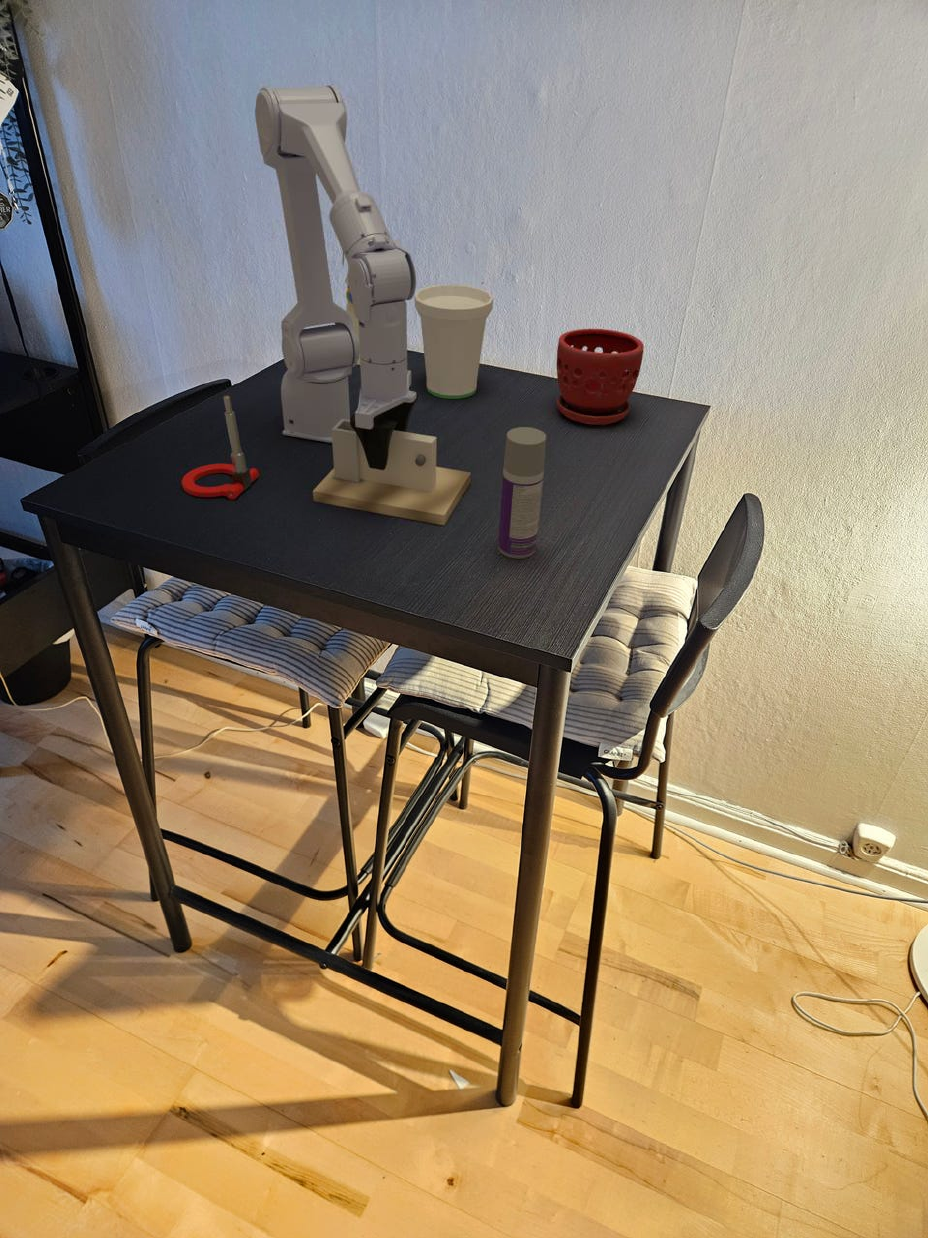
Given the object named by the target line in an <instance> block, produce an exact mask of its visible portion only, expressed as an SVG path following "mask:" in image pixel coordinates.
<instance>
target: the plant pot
mask: <svg viewBox="0 0 928 1238" xmlns="http://www.w3.org/2000/svg"><path fill="white" fill-rule="evenodd" d="M557 342H558V343H557V349H556V351H557V352H556V378H557V383H558V388H559V391H560V395H559V397H557V400H556V405H557V408H558V409H559V411H560V413H561V414H563V416H564V417H566V418H568V419H570V420H572V421H575V422H578V423H581V424H587V425H601V426H606V425H609V424H612V423H613V424H614V423H616V422H619V421H621V420H622V419H624V418H625V417H626V416H627V415H628V414H629V412H630V409H631V405H630V403H629V401H628V399H629V398H630V396H631V395H632V393H633V392H634V389H635V387H636V385H637V381H638V378H639V375H640V372H641V367H642V362H643V357H644V348H645V347H644V343H643V342H642V340H640V339H639V338H638V337H636V336H634V335H632V334H630V333H626V332H622V331H619V330H614V329H613V330H612V329H604V328H603V329H602V328H581V329H573V330H570V331H567V332H564V333H562V334H561V335H560V336H559V337H558V341H557ZM585 347H586V349H585V350H583V349H584V348H585ZM597 348H600V349H601V350H602V352H596V349H597Z"/></svg>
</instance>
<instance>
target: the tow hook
mask: <svg viewBox="0 0 928 1238" xmlns="http://www.w3.org/2000/svg"><path fill="white" fill-rule="evenodd" d="M223 403H224V408H225V412H224V416H225V422H226V427H227V432H228V438H229V443H230V447H231V454H230V458H231V463H232V464H230V463H212V464H207V465H202V466H199V467H196V468H194V469H192V470H190V471H189V472H187V473H186V474H185V475H184V476H183V477H182V479H181V486H182V489H183V490H184V492H185V493H186V494H189V495H191V496H194V497H201V498H215V497H222V496H224V497H227V499H229V500H231V501H232V500H235V499H237V498H238V496H239V495H241V493H244V492H245V491H246V490H247V489H248V488H249V487H250V486H251V485H252V483H253V482H255V480H257V478H259V477H260V472H259V471H258V469H256V468H248V467H247V463H246V458H245V453H244V452H243V451H242V447H241V441H240V437H239V430H238V426H237V420H236V414H235V411H233V406H232V401H231V396H230V395H224V396H223ZM212 474H227V475H231V477H232V478H231V479H232V484H230V483H225V484H222V485H219V486H201V485H198V484H196V482H197V480H198V479H200V478H202V477H205V476H207V475H212Z"/></svg>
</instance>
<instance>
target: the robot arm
mask: <svg viewBox="0 0 928 1238" xmlns="http://www.w3.org/2000/svg"><path fill="white" fill-rule="evenodd" d="M254 108H255V109H254V117H255V123H256V130H257V135H258V143H259V148H260V149H259V150H260V154H261V155H262V161H263V163H264V165H266V166H267V167H270V168H272V169H274V170H275V172H276V173H275V174H276V177H277V182H278V186H279V192H280V198H281V205H282V211H283V217H284V218H283V219H284V223H285V229H286V230H285V231H286V237H287V242H288V243H287V244H288V249H289V250H288V251H289V256H290V262H291V269H292V270H291V271H292V274H293V282H294V287H295V293H296V294H295V295H296V302H297V303H296V304H295V306H293V308H292V309H291V310H290V311H289V312H288V313H287V314H286V315H285V316H284V317H283V319H281V320H282V321H281V327H280V328H281V337H282V338H281V339H282V340H281V351H282V356H283V360H284V364H285V366H286V368H287V370H286V372H285V373H284V374H283V376H282V380H281V386H280V396H281V407H282V417H283V428H284V430H283V431H282V435H283V436H287V437H288V436H289V437H294V438H295V437H296V438H300V439H306V440H310V441H311V440H312V441H319V442H325V443H329V444H332V431H331V429H332V428H333V427H334V426H335V425H336V424H337V423H338V422H339V421H340V420H341V419H346V420H350V425H351V427H352V428H353V430H354V431H355V432H356V434H357V436H358V437H359V439H360V441H361V444H362V446H363V449H364V452H365V455H366V459H367V462H368V465H369V467H370V468H373V469H379V470H384V469H385V468H386V465H387V461H388V452H389V444H390V439H391V436H392V433H393V430H396V431H402V432H407V429H408V424H409V420H410V417H411V414H412V412H413V409H414V408H415V405H416V403H417V401H418V398H419V397H418V396H419V395H418V394H417V392H416V391H414V390H413V391H412V390H410V389H409V388H410V386H412V371H411V370H408V329H407V328H408V319H407V318H408V313H407V312H408V309H407V306H408V304H407V301H410V300H412V299H413V298H414V295H415V294H416V288H417V274H416V267H415V264H414V261H413V258H412V255H411V253H410V252H409V250H408V249H407V248H405V247H404V246H403V245H401V244H400V242H399V240H394V239H392V237H391V235H390V232H389V230H388V228H387V226H386V223H385V220H384V219H383V216H382V214H381V212H380V210H379V207H378V205H377V203H376V201H375V198H374V197H373V196H372V195H371V194H368V193H367V192H364V191H361V189H360V186H359V182H358V180H357V177H356V173H355V170H354V167H353V164H352V162H351V159H350V155H349V153H348V150H347V146H346V144H345V143H346V137H347V128H348V125H347V124H348V117H347V116H348V115H347V114H348V113H347V109H346V103H345V101H344V97H343V96H342V94H341V91H339V89H338V88H337V87H336V86H335V85H333V84H331V85H326V86H305V87H296V86H295V87H270V86H263V87H261V88H260V89H259V91H258V93H257V97H256V100H255V107H254ZM317 178H318V180H319V182H320V183H321V185H322V187H323V189H324V191H325V193H326V195H327V196H328V198H329V200H330V201H331V203H332V206H331V208H330V212H329V214H328V215H329V222H330V224H331V226H332V229H333V231H334V233H335V235H336V238H337V240H338V243H339V245H340V247H341V249H342V253H343V252H344V258H345V259H346V262H347V265H348V264H349V267H348V269H347V274H346V275H347V276H346V278H347V277H348V284H349V289H350V292H351V296H352V300H353V311H354V314H355V317H356V318H357V319H358V323H359V342H358V338H357V335H356V333H355V330H354V326H353V320H352V317H351V315H350V314H349V313H348V312H347V311H346V309H345V308H343V307H341V306H340V305H339V304H338V303H337V304H336V303H335V302H334V298H333V292H332V283H331V276H330V270H329V262H328V261H329V260H328V255H327V249H326V248H327V247H326V240H325V233H324V227H323V219H322V212H321V203H320V199H319V190H318V183H317ZM327 324H328V325H327ZM315 326H316V327H315ZM308 327H309V328H308ZM359 346H360V349H359ZM359 354H360V365H359V366H360V389H359V393H358V394H359V395H358V396H359V397H358V405H357V409H356V411H354V413H353V414H352V415H351V414H350V411H351V410H350V409H351V408H350V395H349V391H350V390H349V379H348V378H349V376H350V375H352V374H353V371H352V368H355V367H356V366H357V365H358V364H357V361H358V359H359Z"/></svg>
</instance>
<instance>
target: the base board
mask: <svg viewBox="0 0 928 1238" xmlns="http://www.w3.org/2000/svg"><path fill="white" fill-rule="evenodd" d="M471 475H472V473H471V472H468V471H464V470H458V469H451V468H447V467H446V468H445V467H442V466H441V467H440V466H436V486H435V488H434V489H433V491H432V492H429V491H424V490H418V489H412V488H407V487H401V486H395V485H390V484H384V483H379V482H373V481H367V480H362V479H360V481H359V482H356V481H350V480H344V479H339V478H335V474H334V467H333V468H332V469H331V470H330V472H329V473H328V474H327V475H326V476H325V477H324V478H323V479H322V480H321V481H320V482H319V484H318V485H317V486H316V487H315V488H314V489H313V491H312V498H313V502H316V503H321V504H326V505H332V506H338V507H344V508H348V509H353V510H358V511H359V510H360V511H364V512H370V513H375V514H381V515H386V516H391V517H396V518H402V519H407V520H412V521H418V522H424V523H429V524H434V525H439V526H446V523H447V522H448V520H449V519H450V517H451V515H452V514H453V513H454V510H455V508H456V507H457V505H458V504H459V502H460V500H461V499H462V497H463V495H464V494H465V492H466V491H467V488H468V487H469V486H470V483H471V480H472V479H471Z"/></svg>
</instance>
